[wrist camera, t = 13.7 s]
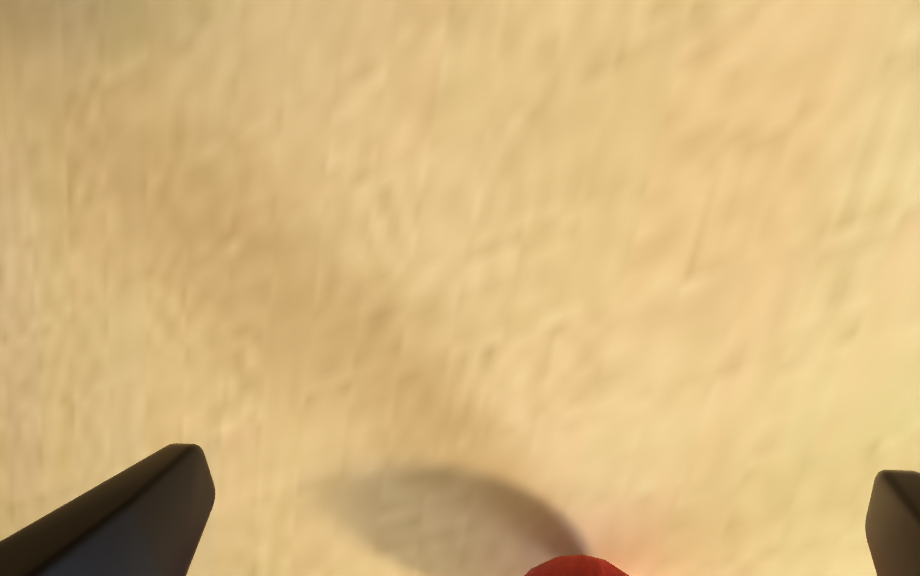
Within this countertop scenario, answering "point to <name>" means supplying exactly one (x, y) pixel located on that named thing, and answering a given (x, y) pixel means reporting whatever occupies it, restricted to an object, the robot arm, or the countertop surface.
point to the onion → (576, 567)
